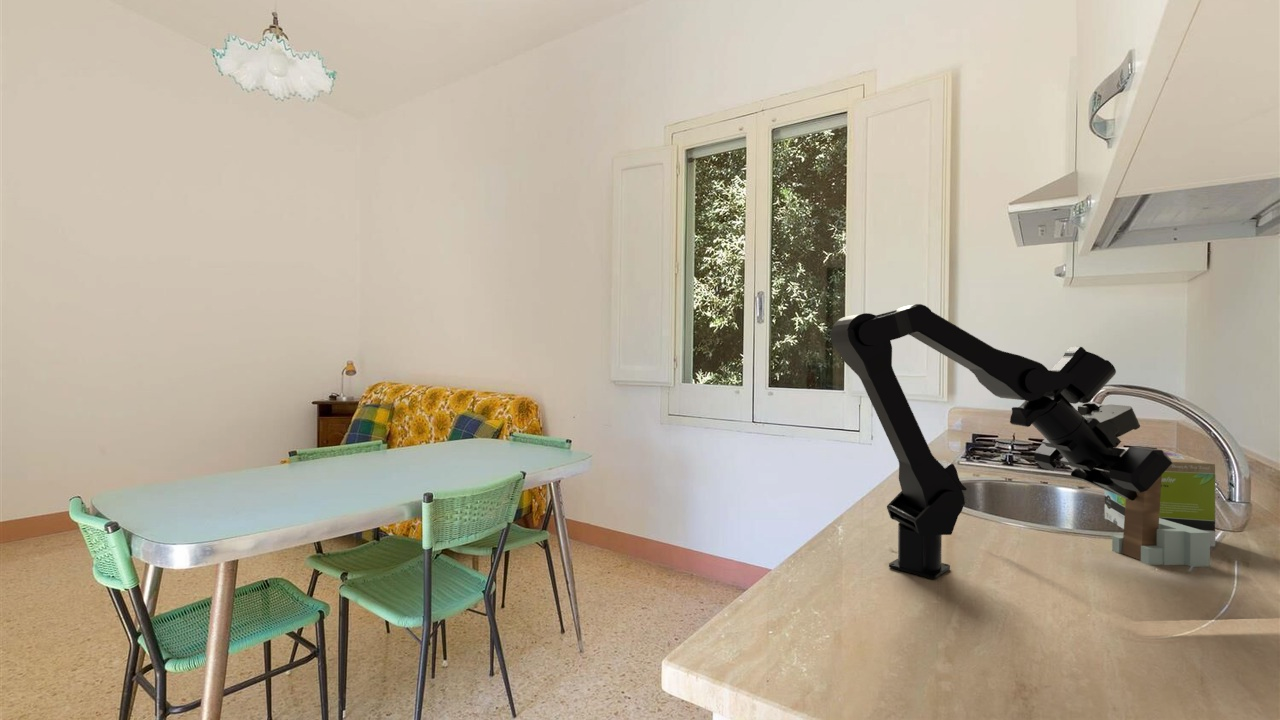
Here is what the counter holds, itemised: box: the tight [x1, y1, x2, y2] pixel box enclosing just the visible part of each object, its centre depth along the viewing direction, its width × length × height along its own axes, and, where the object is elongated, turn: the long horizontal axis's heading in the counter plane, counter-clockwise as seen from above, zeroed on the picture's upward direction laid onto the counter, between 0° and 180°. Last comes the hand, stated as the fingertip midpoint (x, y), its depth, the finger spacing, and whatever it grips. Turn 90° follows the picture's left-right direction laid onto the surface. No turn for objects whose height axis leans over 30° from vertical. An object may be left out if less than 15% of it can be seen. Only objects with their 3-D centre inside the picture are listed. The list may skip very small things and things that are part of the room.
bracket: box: [1111, 518, 1211, 568], centre depth 87 cm, size 10×8×6 cm
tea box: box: [1104, 446, 1216, 547], centre depth 100 cm, size 15×10×15 cm, turn 161°
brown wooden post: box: [1122, 475, 1162, 561], centre depth 87 cm, size 2×3×14 cm
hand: (1133, 497), depth 87 cm, fingers closed, pressing on brown wooden post
